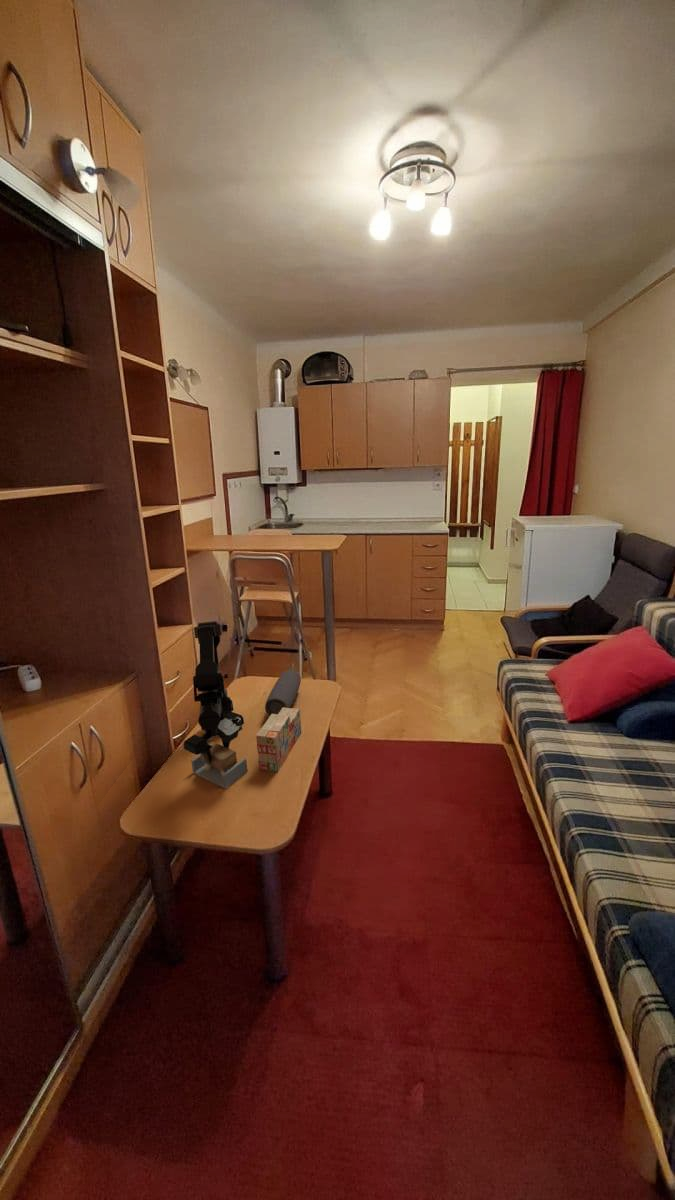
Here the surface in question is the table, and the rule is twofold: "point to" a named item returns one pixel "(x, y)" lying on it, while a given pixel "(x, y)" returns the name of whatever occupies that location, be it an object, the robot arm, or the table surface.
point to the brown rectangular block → (221, 757)
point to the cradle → (219, 772)
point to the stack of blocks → (278, 738)
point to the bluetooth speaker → (283, 692)
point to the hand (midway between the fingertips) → (218, 756)
